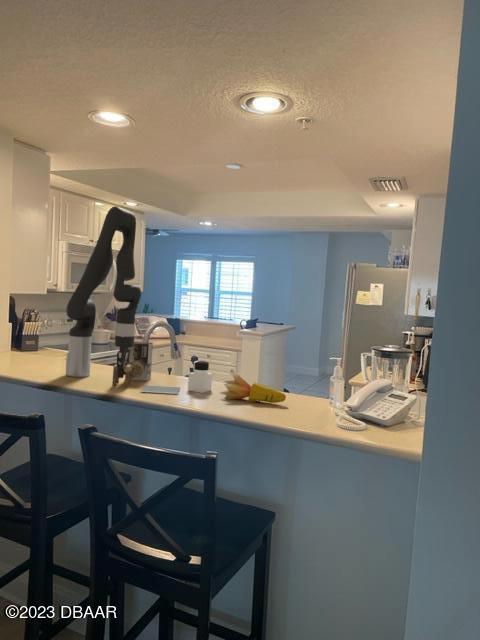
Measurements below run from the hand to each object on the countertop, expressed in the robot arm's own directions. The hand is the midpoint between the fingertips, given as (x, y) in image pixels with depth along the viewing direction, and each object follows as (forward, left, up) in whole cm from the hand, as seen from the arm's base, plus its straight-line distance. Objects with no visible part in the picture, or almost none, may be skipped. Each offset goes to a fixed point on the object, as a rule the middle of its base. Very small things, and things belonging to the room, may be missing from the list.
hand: (122, 376), depth 182 cm
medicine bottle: (+31, 0, -4) cm, 31 cm away
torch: (+51, -14, -4) cm, 53 cm away
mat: (+16, -4, -4) cm, 17 cm away
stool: (0, 0, -4) cm, 4 cm away
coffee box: (+4, +16, -4) cm, 17 cm away
